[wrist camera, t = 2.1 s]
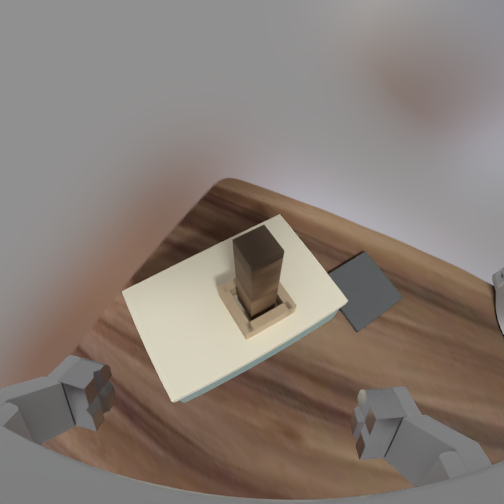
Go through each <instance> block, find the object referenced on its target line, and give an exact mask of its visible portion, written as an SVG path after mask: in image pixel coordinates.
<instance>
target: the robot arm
mask: <svg viewBox="0 0 504 504" xmlns="http://www.w3.org/2000/svg"><path fill="white" fill-rule="evenodd" d="M493 284H494V287H495V291H496V314H497V318H498V322H499V325H500V328H501V330H502V332H503V334H504V268H503V269H501V270H500V271H499V272H497V273H496V274H494V275H493ZM111 376H112V374H111V370H110V367H109V366H108V365H106V364H103V363H99V362H95V361H91V360H87V359H84V358H80V357H76V356H68V357H67V358H66V359H65V360H64V361H63V362H62V363H61V364H60V365H59V366H58V367H57V368H56V369H55V370H53V371H52V372H51V373H50V374H49V375H48V376H47V377H40V378H36V379H33V380H30V381H26V382H22V383H19V384H15V385H12V386H8V387H5V388H1V389H0V504H504V461H501V462H499V463H496V464H493V465H492V464H491V462H490V461H489V459H488V458H487V456H486V454H485V453H484V451H483V450H482V448H481V447H480V445H479V443H477V442H475V441H473V440H472V439H470V438H468V437H466V436H464V435H462V434H460V433H458V432H456V431H455V430H453V429H451V428H449V427H447V426H445V425H443V424H442V423H440V422H438V421H436V420H434V419H432V418H431V417H429V416H427V415H422V414H421V413H420V411H419V409H418V407H417V406H416V404H415V402H414V401H413V399H412V397H411V395H410V394H409V392H408V390H407V389H406V388H405V387H404V386H400V387H390V388H381V389H361V391H360V392H359V395H358V398H357V400H358V403H359V406H357V407H356V408H355V409H354V411H353V414H352V420H351V429H352V434H353V436H354V437H355V438H356V439H358V441H357V443H356V449H357V452H358V456H359V459H360V460H364V459H378V458H384V459H385V460H386V461H387V462H388V463H389V464H390V465H391V466H392V467H394V468H395V469H396V470H397V471H398V472H399V473H400V474H401V475H402V476H404V477H405V478H406V479H407V480H408V481H409V482H410V483H412V484H413V485H414V486H415V487H414V488H409V489H404V490H398V491H392V492H386V493H380V494H372V495H364V496H355V497H345V498H331V499H308V500H278V499H255V498H241V497H231V496H222V495H213V494H206V493H199V492H193V491H187V490H182V489H176V488H171V487H166V486H162V485H157V484H153V483H149V482H144V481H140V480H137V479H133V478H129V477H126V476H122V475H119V474H115V473H112V472H109V471H106V470H103V469H100V468H97V467H94V466H91V465H88V464H85V463H82V462H80V461H77V460H74V459H72V458H69V457H67V456H64V455H62V454H59V453H57V452H55V451H52V450H50V449H48V448H46V447H43V446H41V444H43V443H45V442H47V441H49V440H51V439H52V438H54V437H56V436H58V435H60V434H62V433H64V432H65V431H67V430H69V429H71V428H73V427H74V426H75V425H77V426H80V427H84V428H87V429H90V430H94V431H97V430H98V428H99V427H100V425H101V424H102V422H103V421H104V415H103V414H104V413H106V412H109V411H110V410H111V408H112V406H113V404H114V400H115V389H114V386H113V384H112V383H111V382H110V381H109V379H110V377H111Z"/></svg>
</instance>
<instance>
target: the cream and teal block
mask: <svg viewBox="0 0 504 504" xmlns="http://www.w3.org/2000/svg"><path fill="white" fill-rule="evenodd" d="M262 225H265V226H266V227H267V229H268V230H269V231H270V233H271V234H272V235H273V237H274V238H275V239H276V240H277V242H278V243H279V244H280V246H281V247H282V248H283V250H284V256H283V262H282V268H281V274H280V280H279V286H278V292H277V297H276V303H275V308H274V309H272V310H270V311H268V312H267V313H265V314H263V315H261V316H260V317H258V318H256V319H254V320H252V321H251V320H250V318H249V316H248V315H247V313H246V312H245V310H244V309H243V307H242V305H241V304H240V302H239V301H238V296H237V285H236V275H235V264H234V253H233V241H232V240H233V239H235V238H237V237H239V236H241V235H243V234H245V233H247V232H249V231H251V230H253V229H256V228H258V227H260V226H262ZM122 293H123V296H124V298H125V301H126V303H127V306H128V308H129V311H130V313H131V315H132V318H133V320H134V323H135V325H136V327H137V330H138V332H139V334H140V337H141V339H142V341H143V343H144V346H145V348H146V350H147V352H148V354H149V357H150V359H151V361H152V363H153V365H154V367H155V369H156V371H157V373H158V375H159V377H160V379H161V381H162V383H163V385H164V387H165V389H166V391H167V393H168V395H169V397H170V399H171V401H172V402H176V401H178V400H179V401H181V402H183V403H185V402H187V401H189V400H191V399H193V398H195V397H197V396H199V395H201V394H203V393H205V392H207V391H209V390H211V389H213V388H215V387H217V386H219V385H221V384H222V383H224V382H226V381H228V380H230V379H232V378H234V377H235V376H237V375H239V374H241V373H243V372H245V371H246V370H248V369H250V368H252V367H253V366H255V365H257V364H259V363H260V362H262V361H264V360H266V359H267V358H269V357H271V356H273V355H274V354H276V353H278V352H279V351H281V350H283V349H284V348H286V347H288V346H289V345H291V344H293V343H294V342H296V341H298V340H299V339H301V338H302V337H304V336H306V335H307V334H309V333H310V332H312V331H314V330H315V329H317V328H318V327H320V326H321V325H323V324H324V323H326V322H328V321H329V320H331V319H332V318H333V317H334V316H335V314H336V313H337V311H338V310H339V308H341V307H342V306H344V305H345V304H346V303H347V302H348V300H347V298H346V297H345V296H344V294H343V293H342V292H341V291H340V289H339V288H338V287H337V285H336V284H335V283H334V281H333V280H332V279H331V278H330V276H329V275H328V274H327V272H326V271H325V270H324V269H323V267H322V266H321V265H320V263H319V262H318V261H317V260H316V258H315V257H314V256H313V255H312V253H311V252H310V251H309V250H308V248H307V247H306V246H305V245H304V243H303V242H302V241H301V240H300V238H299V237H298V236H297V235H296V233H295V232H294V231H293V230H292V228H291V227H290V226H289V225H288V223H287V222H286V221H285V220H284V219H283V217H282V216H281V215H280V214H279V215H277V216H275V217H273V218H271V219H269V220H267V221H264V222H262V223H260V224H258V225H256V226H254V227H252V228H250V229H248V230H246V231H243V232H241V233H239V234H237V235H235V236H233V237H231V238H229V239H227V240H225V241H223V242H221V243H219V244H217V245H214V246H212V247H210V248H208V249H206V250H204V251H202V252H200V253H198V254H196V255H194V256H192V257H190V258H188V259H186V260H184V261H182V262H180V263H178V264H176V265H174V266H172V267H170V268H168V269H166V270H164V271H162V272H160V273H158V274H156V275H154V276H152V277H150V278H148V279H146V280H144V281H142V282H140V283H138V284H136V285H134V286H132V287H130V288H128V289H126V290H124V291H122Z"/></svg>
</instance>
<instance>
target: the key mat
mask: <svg viewBox="0 0 504 504" xmlns="http://www.w3.org/2000/svg"><path fill="white" fill-rule="evenodd" d="M328 275H329V276H330V278H331V279H332V280H333V281H334V283H335V284H336V285H337V287H338V288H339V289H340V291H341V292H342V293H343V294H344V296H345V297H346V298H347V300H348V302H347V303H346V304H345V305H344V306H342V307H341V308H339V309H340V311H341V312H342V313H343V315H344V316H345V317H346V319H347V320H348V321H349V323H350V324H351V325H352V327H353V328H354V330H355V331H356V332H358V331H360V330H361V329H362V328H364V327H365V326H366V325H368V324H369V323H371V322H372V321H373V320H375V319H376V318H377V317H379V316H380V315H381V314H382V313H384V312H385V311H386V310H388V309H389V308H390V307H392V306H393V305H394V304H395V303H397V302H398V301H399V300H400V299H402V298H403V297H402V296H401V294H400V293H399V292H398V291H397V289H396V288H395V287H394V285H393V284H392V283H391V282H390V280H389V279H388V278H387V277H386V276H385V274H384V273H383V272H382V271H381V269H380V268H379V267H378V266H377V265H376V263H375V262H374V261H373V260H372V259H371V257H370V256H369V255H368V254H367V253H366V251H365V252H364V253H362V254H360V255H359V256H357V257H355V258H354V259H352V260H351V261H349V262H347V263H346V264H344V265H342V266H341V267H339V268H338V269H336V270H334V271H333V272H331V273H329V274H328Z"/></svg>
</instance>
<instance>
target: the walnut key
mask: <svg viewBox="0 0 504 504" xmlns="http://www.w3.org/2000/svg"><path fill="white" fill-rule="evenodd" d="M232 241H233V253H234V264H235V275H236V285H237V296H238V301H239V302H240V304H241V305H242V307H243V309H244V310H245V312H246V313H247V315H248V316H249V318H250V320H251V321H252V320H254V319H256V318H258V317H260V316H261V315H263V314H265V313H267V312H268V311H270V310H272V309H274V308H275V303H276V297H277V292H278V286H279V280H280V274H281V268H282V262H283V256H284V250H283V248H282V247H281V246H280V244H279V243H278V242H277V240H276V239H275V238H274V237H273V235H272V234H271V233H270V231H269V230H268V229H267V227H266V226H265V225H262V226H260V227H258V228H256V229H253V230H251V231H249V232H247V233H245V234H243V235H241V236H239V237H237V238H235V239H233V240H232Z"/></svg>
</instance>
